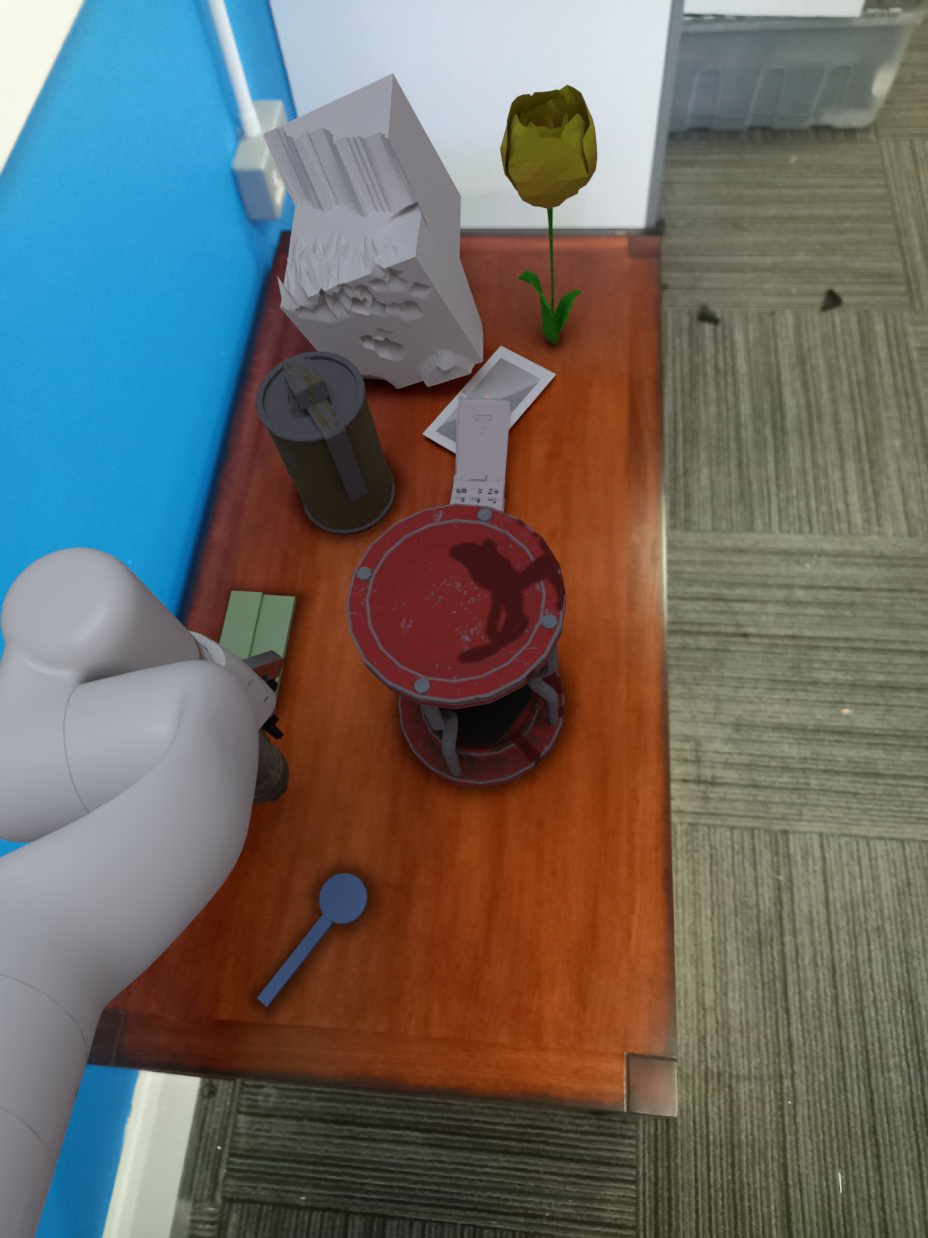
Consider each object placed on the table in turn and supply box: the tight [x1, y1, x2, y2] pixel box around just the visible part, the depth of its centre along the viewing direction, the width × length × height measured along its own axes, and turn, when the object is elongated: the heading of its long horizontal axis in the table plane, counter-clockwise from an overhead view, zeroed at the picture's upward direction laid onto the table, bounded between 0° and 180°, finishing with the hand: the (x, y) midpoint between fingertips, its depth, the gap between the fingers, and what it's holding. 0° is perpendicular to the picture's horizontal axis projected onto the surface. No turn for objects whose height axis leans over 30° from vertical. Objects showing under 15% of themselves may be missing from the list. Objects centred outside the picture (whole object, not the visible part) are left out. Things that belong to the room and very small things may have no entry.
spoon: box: [256, 872, 369, 1008], centre depth 80 cm, size 13×4×1 cm, turn 142°
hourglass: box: [346, 503, 567, 789], centre depth 76 cm, size 16×16×25 cm
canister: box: [255, 350, 396, 535], centre depth 90 cm, size 11×10×20 cm
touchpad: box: [422, 345, 557, 454], centre depth 101 cm, size 8×15×2 cm, turn 143°
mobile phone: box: [449, 399, 511, 512], centre depth 93 cm, size 6×6×25 cm
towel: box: [218, 590, 298, 707], centre depth 92 cm, size 12×7×1 cm, turn 174°
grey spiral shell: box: [253, 727, 290, 805], centre depth 76 cm, size 6×6×15 cm
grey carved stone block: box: [262, 73, 484, 390], centre depth 97 cm, size 20×16×25 cm
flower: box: [499, 84, 598, 346], centre depth 92 cm, size 9×8×30 cm
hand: (243, 756), depth 74 cm, fingers closed on grey spiral shell, 5 cm apart
